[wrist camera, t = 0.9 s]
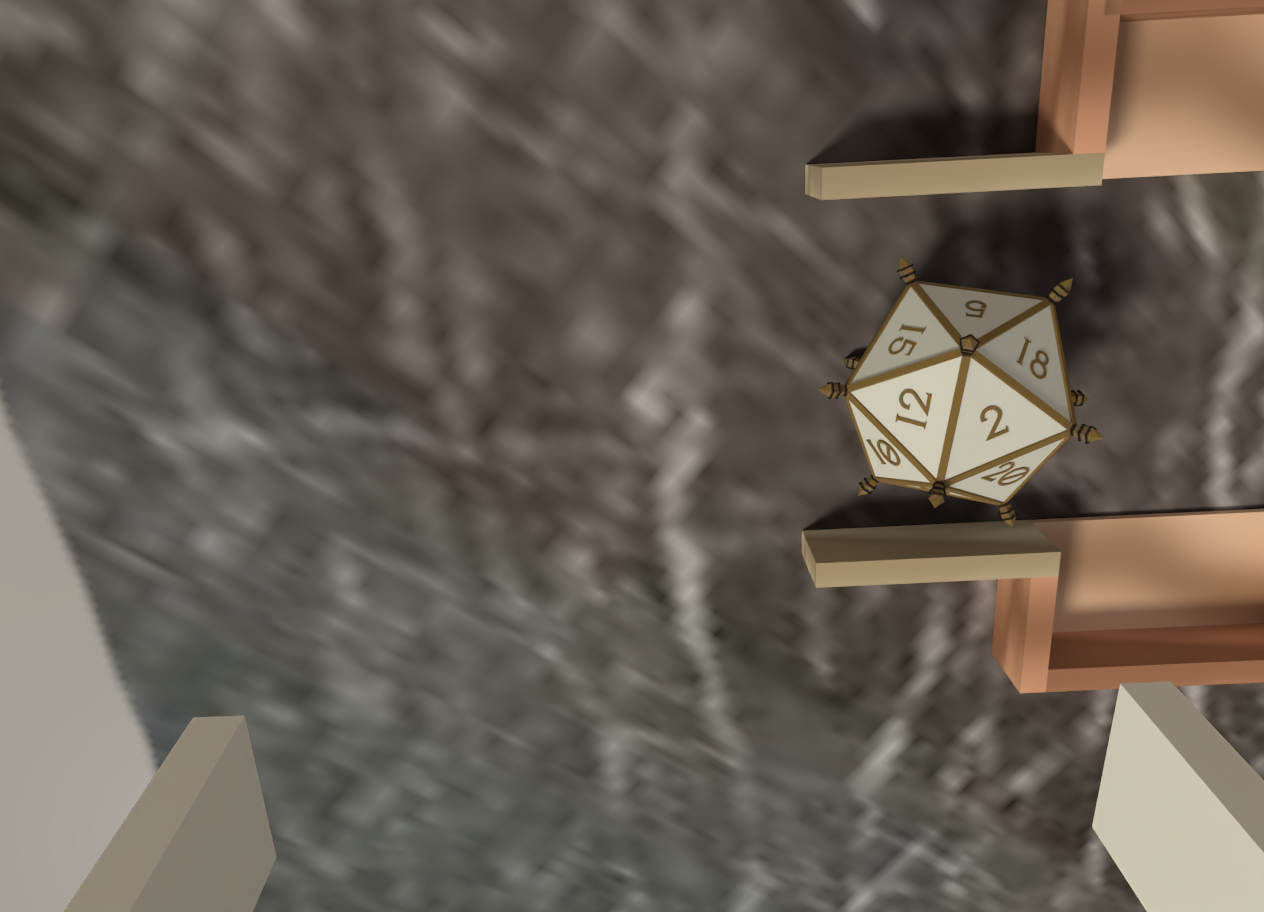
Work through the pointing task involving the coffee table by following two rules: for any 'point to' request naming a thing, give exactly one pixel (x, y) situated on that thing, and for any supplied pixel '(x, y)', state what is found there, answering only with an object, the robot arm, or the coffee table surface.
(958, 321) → the game die
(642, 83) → the coffee table surface
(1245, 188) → the coffee table surface
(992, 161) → the trap box
